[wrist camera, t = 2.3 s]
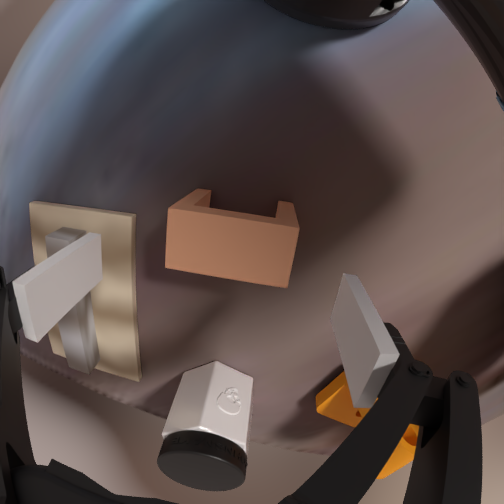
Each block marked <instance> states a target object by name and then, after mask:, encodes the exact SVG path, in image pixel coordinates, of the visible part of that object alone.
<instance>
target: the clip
mask: <svg viewBox="0 0 504 504" xmlns="http://www.w3.org/2000/svg"><path fill="white" fill-rule="evenodd" d="M210 198H211V190H206V189H199V188H197V189H196V190H194V191H193V192H191V193H190V194H188V195H187V196H185V197H184V198H182V199H181V200H179V201H178V202H176V203H175V204H173V205H172V206H170V207H169V208H168V218H167V235H166V256H165V268H170V269H175V270H181V271H186V272H192V273H198V274H203V275H209V276H215V277H221V278H227V279H233V280H239V281H245V282H251V283H257V284H263V285H269V286H276V287H282V288H287V287H288V282H289V277H290V273H291V268H292V263H293V259H294V254H295V249H296V244H297V239H298V234H299V229H300V228H299V224H298V220H297V216H296V213H295V209H294V205H293V203H290V202H285V201H279V200H278V206H277V212H276V218H272V217H266V216H260V215H254V214H247V213H241V212H235V211H228V210H221V209H215V208H209V206H210Z"/></svg>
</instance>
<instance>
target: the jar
mask: <svg viewBox="0 0 504 504" xmlns="http://www.w3.org/2000/svg"><path fill="white" fill-rule="evenodd" d="M252 409H253V378H252V377H250V376H248V375H246V374H244V373H241V372H239V371H237V370H235V369H233V368H231V367H229V366H227V365H225V364H223V363H220V362H218V361H214V362H211V363H209V364H206V365H203V366H200V367H197V368H195V369H192V370H189V371H186V372H184V373H183V376H182V379H181V381H180V384H179V387H178V390H177V392H176V395H175V398H174V401H173V403H172V406H171V409H170V412H169V414H168V417H167V420H166V423H165V426H164V428H163V431H162V437H163V439H164V441H163V444H162V447H161V450H160V453H159V456H158V459H157V464H158V467H159V468H160V470H161V471H162V472H163V473H164V474H165V475H166V476H168V477H169V478H171V479H172V480H174V481H176V482H178V483H180V484H183V485H186V486H188V487H191V488H195V489H200V490H206V491H226V490H231V489H234V488H237V487H239V486H240V485H242V484H243V483H244V480H245V476H246V467H247V456H248V448H249V438H250V428H251V419H252Z"/></svg>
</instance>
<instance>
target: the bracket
mask: <svg viewBox="0 0 504 504" xmlns="http://www.w3.org/2000/svg"><path fill="white" fill-rule="evenodd" d="M377 400H378V397H377V399H376V401H377ZM376 401H375V402H376ZM374 404H375V403H374ZM316 407H317V412H318V413H320V414H322V415H324V416H327V417H329V418H332V419H334V420H337V421H339V422H342V423H344V424H347V425H349V426H352V427H356V426H357V425H358V424H359V423H360V421H361V420H362V419H363V418H364V416H365V415H366V414H367V413H368V411H369V410H370V409H371V408H354V407H353V402H352V398H351V394H350V390H349V386H348V383H347V379H346V375H345V371H343V372H342V373H341V374H340V375H339V376H338V377H336V378H335V379H334V380H333V381H332V382H331V383H330V384H329V385H327V386H326V387H325V388H324V389H323V390H322V391H321V392H319V393H318V394H317V395H316ZM418 431H419V426H418V425H414V424H409V426H408V428H407V430H406V431H405V433H404V435H403V437H402V438H401V440H400V442H399V443H398V445H397V447H396V448H395V450H394V452H393V453H392V455H391V457H390V458H389V460H388V461H387V463H386V464H385V466H384V467H383V469H382V470H381V472H380V473H379V475H378V476H377V478H376V479H383V478H385V477H386V476H388V475H390V474H392V473H393V472H395V471H396V470H398V469H400V468H401V467H403V466H404V465H406V464H408V463H409V462H411V461H412V460H413V459H414V454H415V449H416V443H417V437H418Z"/></svg>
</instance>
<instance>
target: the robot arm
mask: <svg viewBox="0 0 504 504" xmlns="http://www.w3.org/2000/svg"><path fill="white" fill-rule="evenodd" d="M264 1H266V2H267V3H268V4H270V5H271V6H272V7H274V8H275V9H277V10H279V11H281V12H282V13H284V14H286V15H288V16H291V17H293V18H295V19H298V20H300V21H303V22H306V23H309V24H313V25H317V26H322V27H327V28H334V29H360V28H367V27H371V26H375V25H378V24H381V23H383V22H385V21H387V20H389V19H390V18H392V17H393V16H394V15H396V14H397V13H398V12H399V11H400V10H401V9H402V8H403V7H404V6H405V5H406V4H407V3H408V1H409V0H264ZM433 1H434V2H435V3H436V4H437V5H438V6H439V8H440V9H441V10H442V11H443V12H444V14H445V15H446V16H447V17H448V19H449V20H450V21H451V22H452V24H453V25H454V26H455V27H456V29H457V30H458V31H459V33H460V34H461V35H462V37H463V38H464V40H465V41H466V42H467V44H468V45H469V47H470V48H471V50H472V51H473V52H474V54H475V55H476V57H477V59H478V60H479V62H480V63H481V65H482V66H483V68H484V70H485V71H486V73H487V75H488V76H489V78H490V80H491V82H492V83H493V85H494V87H495V89H496V95H497V98H496V99H497V101H498V103H499V105H500V106H501V108H502V110H503V111H504V0H433ZM102 279H103V274H102V254H101V234H97V233H91V232H89V233H88V234H86V235H84V236H83V237H81V238H79V239H78V240H76V241H74V242H73V243H71V244H69V245H68V246H66V247H65V248H63V249H61V250H60V251H58V252H57V253H55V254H53V255H52V256H50V257H49V258H47V259H46V260H44V261H42V262H41V263H39V264H38V265H36V266H33V267H32V268H30V269H29V270H27V272H24V273H23V274H21V275H20V276H18V277H17V278H15V279H14V280H13V281H11V282H10V283H8V284H7V285H6V280H5V275H4V269H3V267H1V266H0V504H177V503H172V502H169V501H165V500H160V499H157V498H143V497H132V496H122V495H116V494H113V493H111V492H110V491H108V490H107V489H105V488H103V487H102V486H101V485H99V484H97V483H96V482H95V481H93V480H92V479H90V478H89V477H87V476H86V475H85V474H83V473H81V472H79V471H77V470H75V469H72V468H70V467H68V466H66V465H64V464H62V463H60V462H57V461H56V460H54V459H52V460H51V462H50V463H49V465H48V466H44V465H37V464H36V462H35V460H34V456H33V452H32V447H31V442H30V437H29V432H28V426H27V420H26V413H25V406H24V398H23V389H22V377H21V363H20V337H19V334H18V330H19V329H20V328H21V327H23V330H24V334H25V337H26V338H28V339H30V340H32V341H35V342H37V343H38V342H39V341H40V340H41V339H42V338H43V337H44V336H45V335H46V333H47V332H48V331H49V330H50V329H51V328H52V327H53V326H54V325H55V324H56V323H57V322H58V321H59V320H60V319H61V318H62V317H63V316H64V315H65V314H66V313H67V312H68V311H70V310H71V309H72V308H73V307H74V306H75V305H76V304H77V303H78V302H79V301H80V300H81V299H82V298H83V297H84V296H85V295H86V294H87V293H88V292H89V291H90V290H92V289H93V288H94V287H95V286H96V285H97V284H98V283H99V282H100V281H101V280H102ZM330 320H331V324H332V327H333V331H334V334H335V338H336V341H337V345H338V349H339V352H340V356H341V360H342V363H343V367H344V371H345V375H346V379H347V383H348V386H349V390H350V394H351V398H352V402H353V407H354V408H371V409H370V410H369V411H368V413H367V414H366V415H365V416H364V418H363V419H362V420H361V421H360V423H359V424H358V425H357V426H356V427H355V429H354V430H353V431H352V432H351V433H350V435H349V436H348V437H347V438H346V439H345V440H344V442H343V443H342V444H341V445H340V446H339V447H338V448H337V450H336V451H335V452H334V453H333V454H332V455H331V456H330V457H329V458H328V459H327V460H326V462H325V463H324V464H323V465H322V466H321V467H320V468H319V469H318V470H317V471H316V472H315V473H314V474H313V475H312V476H311V477H310V478H309V479H308V480H307V481H306V482H305V483H304V484H303V485H302V486H301V487H300V488H299V489H297V490H296V491H295V492H294V493H293V494H292V495H289V496H287V497H285V498H284V499H283V500H282V501H280V502H279V503H278V504H358V502H359V501H360V500H361V498H362V497H363V496H364V495H365V493H366V492H367V490H368V489H369V488H370V486H371V485H372V483H373V482H374V481H375V479H376V478H377V476H378V475H379V473H380V472H381V470H382V469H383V467H384V466H385V464H386V463H387V461H388V460H389V458H390V457H391V455H392V453H393V452H394V450H395V448H396V447H397V445H398V443H399V442H400V440H401V438H402V437H403V435H404V433H405V431H406V430H407V428H408V426H409V424H414V425H418V426H419V431H418V437H417V443H416V449H415V454H414V459H413V464H412V468H411V473H410V477H409V482H408V486H407V490H406V493H405V497H404V501H403V504H481V492H482V432H481V417H480V406H479V396H478V388H477V384H476V381H475V380H474V379H473V377H472V376H471V375H470V374H468V373H465V372H463V371H454V372H452V373H451V374H450V376H449V378H448V379H447V380H446V379H442V378H438V377H434V376H433V373H432V371H431V369H430V368H429V367H428V366H427V365H426V364H424V363H423V362H420V361H417V360H414V358H413V356H412V355H411V353H410V351H409V349H408V347H407V345H406V344H405V342H404V340H403V338H402V337H401V335H400V333H399V331H398V330H397V329H396V328H395V327H394V326H393V325H392V324H391V323H384V322H383V321H382V320H381V318H380V316H379V314H378V312H377V310H376V308H375V307H374V305H373V303H372V301H371V299H370V298H369V296H368V294H367V292H366V291H365V289H364V287H363V285H362V283H361V282H360V280H359V278H358V277H357V275H352V274H345V273H343V276H342V279H341V283H340V286H339V290H338V293H337V297H336V300H335V303H334V307H333V310H332V313H331V317H330ZM377 397H378V400H377V401H376V399H377ZM375 401H376V402H375ZM374 403H375V404H374Z"/></svg>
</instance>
